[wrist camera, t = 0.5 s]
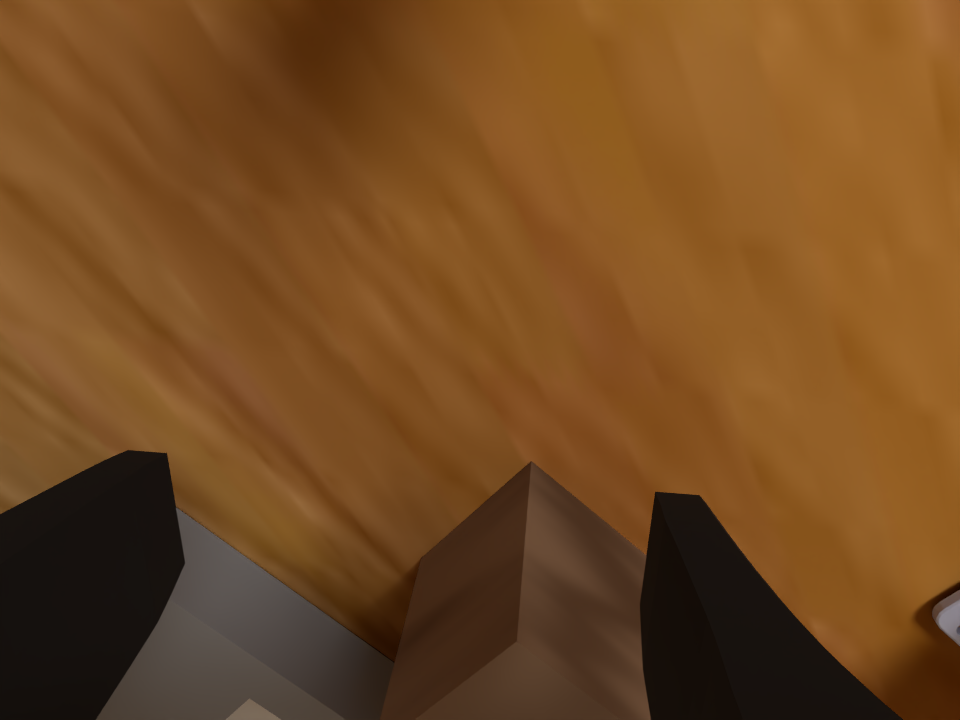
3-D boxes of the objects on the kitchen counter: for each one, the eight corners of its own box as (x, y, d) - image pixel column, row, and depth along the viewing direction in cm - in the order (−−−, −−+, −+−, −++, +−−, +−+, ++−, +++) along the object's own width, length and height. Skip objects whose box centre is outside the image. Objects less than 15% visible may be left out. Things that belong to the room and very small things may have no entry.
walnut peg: (653, 561, 24) (682, 766, 18) (539, 646, 26) (528, 859, 20) (531, 460, 23) (516, 641, 17) (421, 557, 25) (371, 752, 19)
